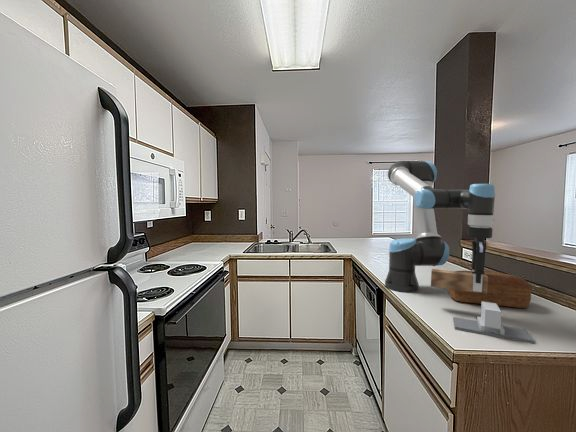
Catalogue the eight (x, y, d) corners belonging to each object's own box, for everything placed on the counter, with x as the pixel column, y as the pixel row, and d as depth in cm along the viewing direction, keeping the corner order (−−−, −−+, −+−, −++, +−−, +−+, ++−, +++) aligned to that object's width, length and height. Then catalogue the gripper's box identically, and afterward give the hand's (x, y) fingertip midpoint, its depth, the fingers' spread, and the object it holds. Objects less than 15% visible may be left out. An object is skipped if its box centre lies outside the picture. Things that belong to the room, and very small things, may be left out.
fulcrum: (454, 329, 91) (455, 305, 91) (453, 319, 99) (453, 297, 99) (534, 343, 82) (535, 317, 82) (525, 331, 90) (526, 307, 90)
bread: (444, 293, 128) (445, 266, 128) (519, 300, 119) (520, 271, 119) (451, 303, 115) (452, 273, 115) (535, 312, 106) (537, 280, 106)
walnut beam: (430, 286, 110) (431, 271, 109) (431, 283, 113) (431, 268, 113) (487, 293, 101) (487, 277, 101) (485, 290, 105) (486, 274, 104)
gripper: (497, 229, 93) (492, 298, 95) (488, 224, 108) (484, 284, 110) (470, 228, 97) (466, 294, 98) (465, 223, 112) (462, 281, 113)
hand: (476, 289), depth 104 cm, fingers closed on walnut beam, 4 cm apart
